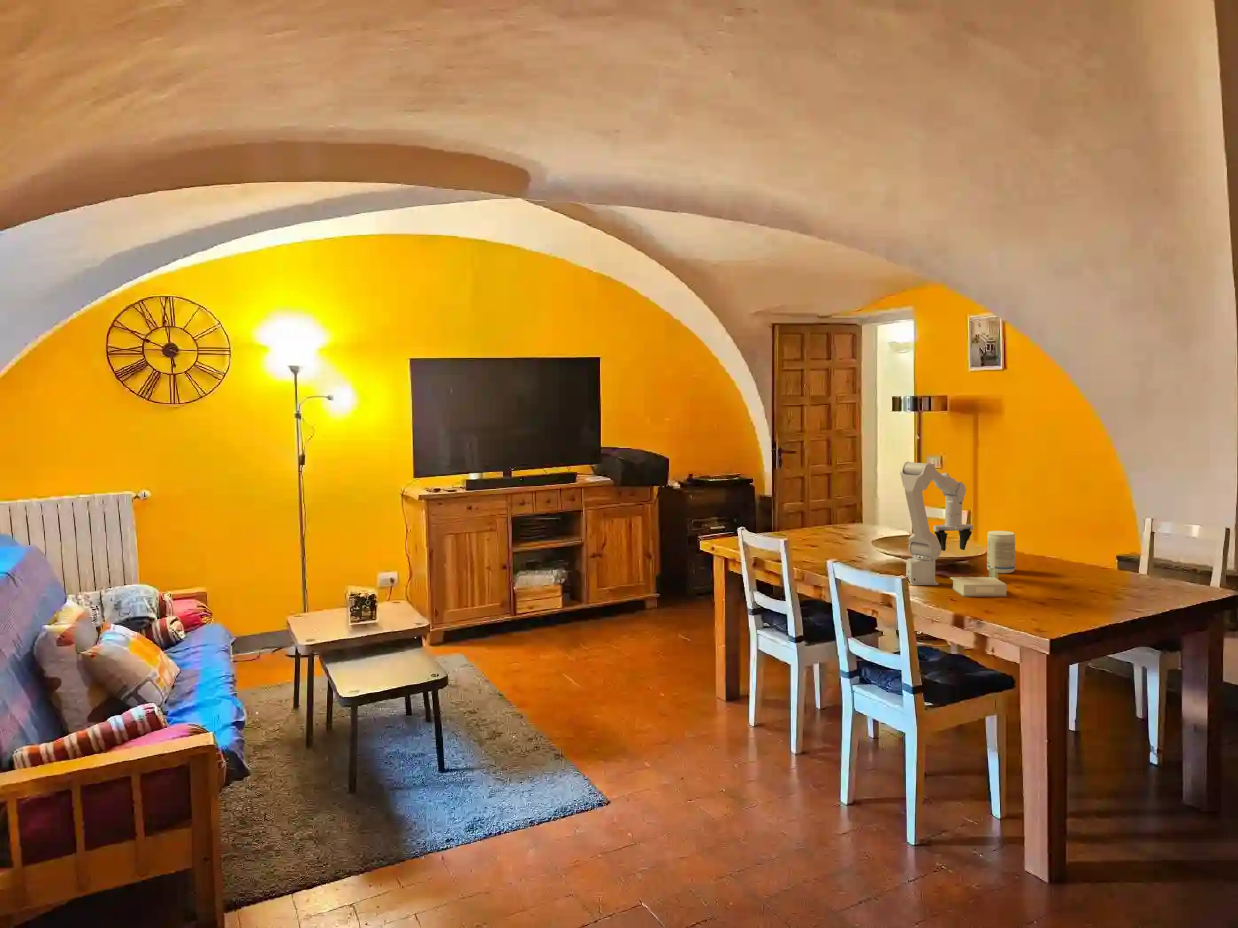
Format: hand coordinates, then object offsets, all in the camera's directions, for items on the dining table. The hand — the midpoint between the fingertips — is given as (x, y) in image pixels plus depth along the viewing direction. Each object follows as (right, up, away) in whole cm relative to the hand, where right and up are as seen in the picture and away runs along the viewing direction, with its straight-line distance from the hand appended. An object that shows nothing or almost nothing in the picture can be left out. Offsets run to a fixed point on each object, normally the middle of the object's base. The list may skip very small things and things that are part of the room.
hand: (952, 549), depth 305 cm
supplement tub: (+20, -9, +6) cm, 23 cm away
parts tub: (-1, -12, -25) cm, 28 cm away
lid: (+4, -11, -9) cm, 15 cm away
